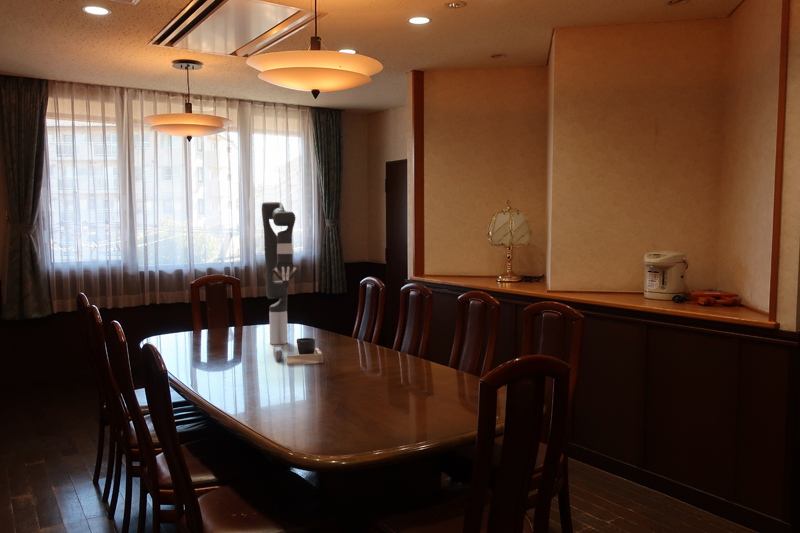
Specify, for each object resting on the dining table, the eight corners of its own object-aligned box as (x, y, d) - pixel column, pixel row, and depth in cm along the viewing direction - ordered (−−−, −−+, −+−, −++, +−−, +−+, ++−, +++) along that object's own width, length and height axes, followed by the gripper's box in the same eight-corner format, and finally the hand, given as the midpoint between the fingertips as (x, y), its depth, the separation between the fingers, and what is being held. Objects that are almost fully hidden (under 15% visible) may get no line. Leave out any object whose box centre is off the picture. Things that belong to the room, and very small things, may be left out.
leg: (282, 360, 276) (282, 351, 276) (275, 360, 275) (275, 351, 275) (280, 353, 290) (280, 345, 289) (273, 354, 289) (273, 345, 289)
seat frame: (284, 357, 282) (284, 349, 282) (318, 355, 286) (318, 347, 286) (287, 364, 268) (287, 356, 268) (322, 362, 272) (322, 353, 272)
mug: (306, 355, 287) (305, 335, 287) (318, 359, 278) (318, 339, 277) (290, 357, 282) (290, 337, 282) (302, 362, 273) (302, 341, 272)
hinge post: (276, 361, 275) (276, 350, 275) (281, 360, 276) (281, 349, 276) (276, 362, 273) (276, 351, 273) (282, 362, 274) (281, 350, 273)
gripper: (297, 252, 295) (298, 287, 296) (270, 252, 291) (271, 287, 293) (299, 252, 288) (300, 288, 289) (271, 253, 284) (272, 289, 285)
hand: (285, 288), depth 291 cm, fingers closed
